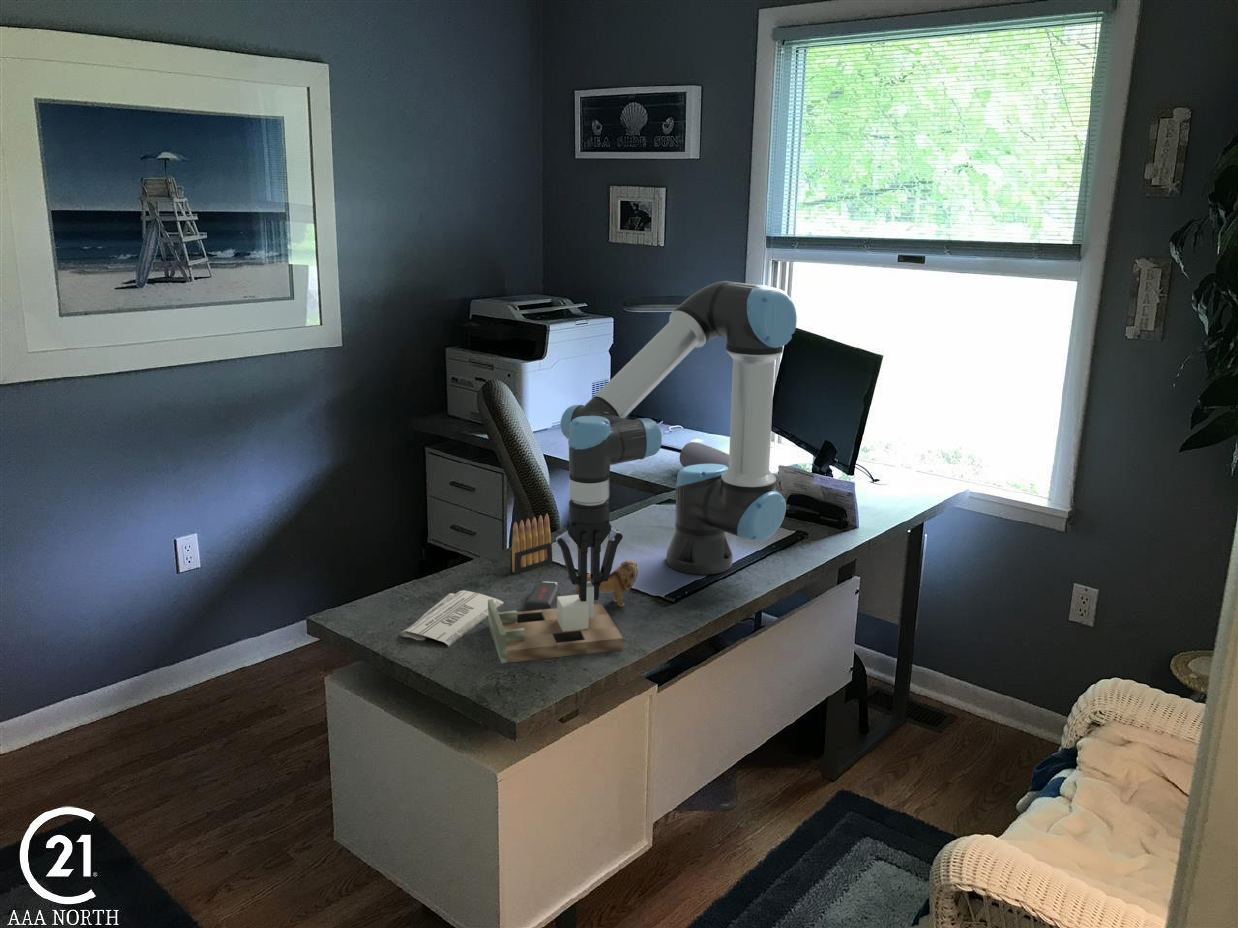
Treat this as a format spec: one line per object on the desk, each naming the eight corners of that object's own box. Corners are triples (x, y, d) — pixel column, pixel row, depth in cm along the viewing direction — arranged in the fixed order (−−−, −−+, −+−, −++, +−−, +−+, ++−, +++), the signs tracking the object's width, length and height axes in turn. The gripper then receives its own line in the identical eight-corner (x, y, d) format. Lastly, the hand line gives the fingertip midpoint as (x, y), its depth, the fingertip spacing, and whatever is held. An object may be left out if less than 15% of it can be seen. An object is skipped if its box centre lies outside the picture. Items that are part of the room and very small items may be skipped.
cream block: (582, 617, 198) (582, 594, 196) (588, 628, 193) (588, 604, 192) (557, 620, 197) (557, 596, 195) (562, 631, 192) (562, 607, 190)
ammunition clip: (515, 574, 224) (514, 523, 221) (510, 572, 226) (509, 521, 222) (552, 563, 231) (552, 513, 228) (547, 560, 233) (547, 511, 229)
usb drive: (525, 612, 206) (525, 600, 205) (537, 589, 218) (537, 577, 217) (550, 614, 206) (550, 602, 205) (561, 591, 217) (561, 579, 216)
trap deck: (601, 614, 205) (601, 589, 204) (622, 649, 190) (623, 622, 189) (488, 626, 199) (487, 599, 197) (501, 663, 184) (500, 635, 183)
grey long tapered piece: (748, 491, 286) (750, 457, 283) (722, 495, 281) (723, 461, 279) (703, 470, 305) (704, 438, 302) (677, 474, 300) (678, 441, 297)
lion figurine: (633, 595, 215) (634, 555, 212) (641, 605, 210) (642, 564, 207) (566, 602, 211) (566, 562, 208) (572, 613, 206) (572, 572, 203)
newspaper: (452, 596, 214) (452, 585, 213) (502, 611, 210) (503, 600, 209) (390, 639, 194) (390, 627, 193) (445, 657, 190) (446, 645, 189)
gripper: (617, 490, 194) (615, 604, 200) (551, 495, 190) (551, 611, 197) (628, 502, 187) (626, 620, 193) (559, 508, 183) (560, 627, 190)
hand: (588, 615), depth 195 cm, fingers closed
